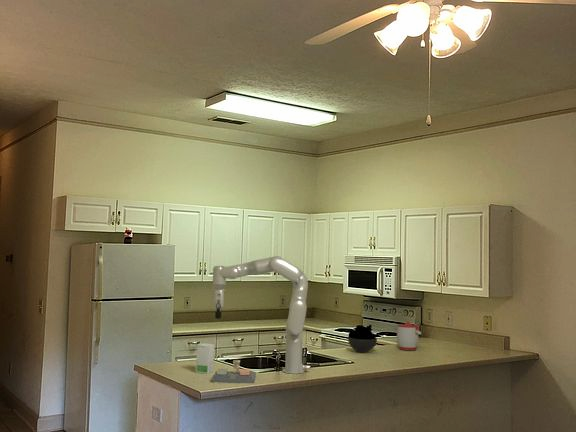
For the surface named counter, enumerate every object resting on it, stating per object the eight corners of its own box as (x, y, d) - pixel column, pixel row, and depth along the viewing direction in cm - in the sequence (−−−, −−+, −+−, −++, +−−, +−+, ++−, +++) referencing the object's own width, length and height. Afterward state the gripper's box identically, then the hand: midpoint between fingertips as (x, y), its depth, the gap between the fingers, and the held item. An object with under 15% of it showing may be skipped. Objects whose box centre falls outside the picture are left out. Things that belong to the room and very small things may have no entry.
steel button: (227, 372, 325) (227, 368, 325) (226, 374, 320) (226, 370, 320) (218, 372, 325) (218, 368, 325) (217, 374, 320) (217, 370, 320)
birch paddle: (239, 371, 335) (240, 360, 336) (239, 372, 332) (239, 361, 333) (233, 371, 335) (233, 360, 336) (232, 372, 332) (233, 361, 333)
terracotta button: (250, 373, 325) (250, 369, 325) (249, 375, 320) (249, 371, 320) (240, 373, 325) (240, 369, 325) (239, 375, 320) (240, 371, 320)
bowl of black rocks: (349, 354, 410) (349, 326, 411) (346, 349, 430) (346, 322, 431) (378, 355, 410) (379, 326, 411) (374, 350, 430) (374, 323, 431)
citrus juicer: (416, 352, 424) (416, 323, 425) (392, 349, 433) (393, 321, 434) (424, 349, 437) (424, 321, 438) (401, 347, 446) (401, 319, 447)
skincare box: (195, 372, 342) (196, 344, 343) (201, 370, 348) (201, 342, 349) (208, 373, 339) (209, 345, 340) (214, 371, 345) (214, 343, 346)
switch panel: (255, 375, 337) (255, 369, 337) (253, 383, 318) (254, 376, 318) (215, 374, 337) (216, 368, 337) (211, 382, 318) (211, 375, 318)
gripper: (225, 288, 343) (224, 319, 342) (225, 286, 360) (225, 315, 359) (212, 288, 342) (211, 319, 341) (212, 286, 359) (212, 315, 358)
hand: (218, 317), depth 350 cm, fingers open, 9 cm apart
